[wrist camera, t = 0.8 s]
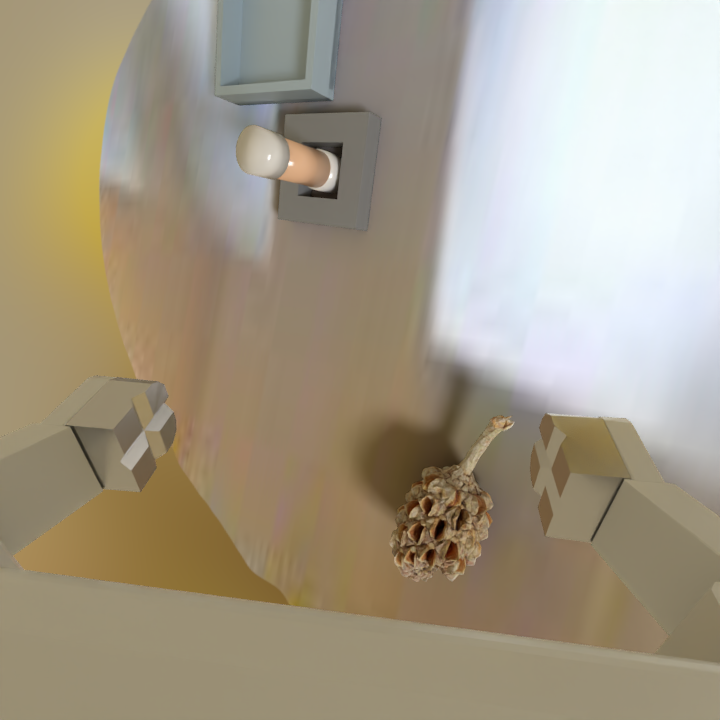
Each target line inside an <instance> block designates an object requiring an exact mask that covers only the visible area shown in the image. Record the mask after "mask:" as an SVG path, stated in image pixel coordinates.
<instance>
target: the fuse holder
mask: <svg viewBox="0 0 720 720" xmlns="http://www.w3.org/2000/svg"><path fill="white" fill-rule="evenodd" d="M381 119H382V118H380V117H378V116H376V115H374V114H373V113H371V112H344V113H313V114H285V126H284V138H286V139H289V140H292V141H294V142H297V143H300V144H303V145H305V146H308V147H311V148H314V149H315V148H316V147H343V149H342V158H341V168H340V177H339V186H338V196H337V199H327V198H316V197H311V191H312V189H311V188H309V187H308V186H305V185H301V184H296V183H292V182H288V181H284V180H281V181H280V195H279V209H278V219H281V220H288V221H296V222H303V223H311V224H318V225H326V226H333V227H341V228H349V229H356V230H364V231H367V228H368V220H369V213H370V205H371V197H372V189H373V181H374V173H375V166H376V158H377V150H378V142H379V134H380V126H381Z"/></svg>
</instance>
